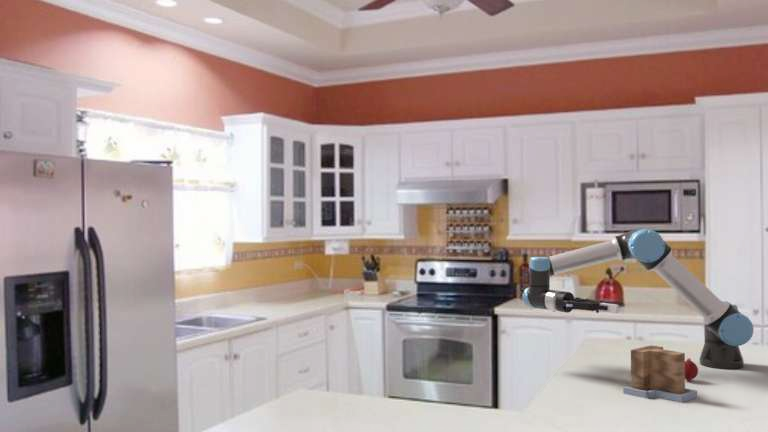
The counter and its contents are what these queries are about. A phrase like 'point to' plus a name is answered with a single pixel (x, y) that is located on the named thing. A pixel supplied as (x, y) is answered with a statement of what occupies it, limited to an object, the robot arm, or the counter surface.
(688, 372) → the onion
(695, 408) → the counter surface
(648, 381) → the tee block
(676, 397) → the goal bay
